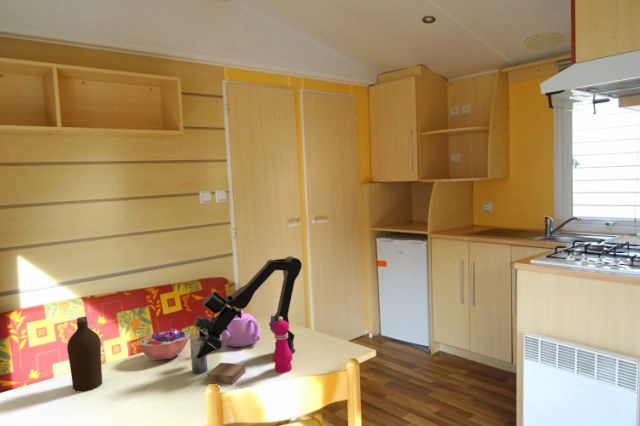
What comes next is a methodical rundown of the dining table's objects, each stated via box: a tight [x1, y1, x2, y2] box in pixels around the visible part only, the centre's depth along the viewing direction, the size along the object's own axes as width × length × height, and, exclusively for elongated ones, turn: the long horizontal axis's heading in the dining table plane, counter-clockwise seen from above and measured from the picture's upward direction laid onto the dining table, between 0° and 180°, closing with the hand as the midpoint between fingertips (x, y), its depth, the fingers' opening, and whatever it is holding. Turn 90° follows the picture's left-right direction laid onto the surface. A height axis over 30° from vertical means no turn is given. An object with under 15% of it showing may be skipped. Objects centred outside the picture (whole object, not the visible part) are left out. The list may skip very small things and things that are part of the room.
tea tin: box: [189, 335, 209, 375], centre depth 172 cm, size 6×6×12 cm
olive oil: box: [66, 316, 103, 392], centre depth 163 cm, size 11×11×25 cm
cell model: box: [138, 328, 191, 361], centre depth 188 cm, size 17×20×11 cm
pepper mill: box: [272, 316, 293, 374], centre depth 169 cm, size 7×7×20 cm
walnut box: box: [206, 362, 246, 385], centre depth 165 cm, size 10×10×3 cm
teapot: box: [220, 310, 262, 348], centre depth 199 cm, size 22×22×14 cm
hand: (195, 354), depth 171 cm, fingers open, 9 cm apart
